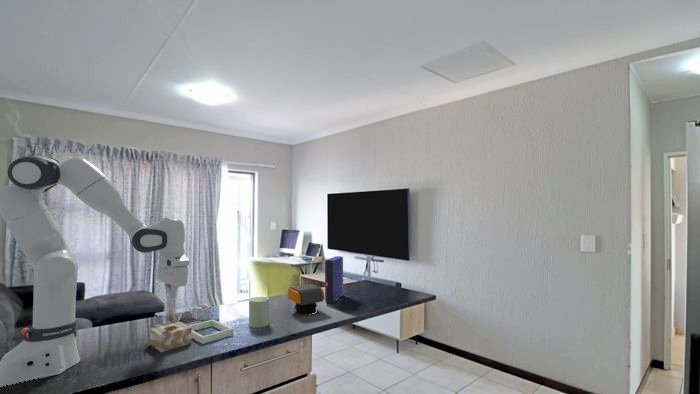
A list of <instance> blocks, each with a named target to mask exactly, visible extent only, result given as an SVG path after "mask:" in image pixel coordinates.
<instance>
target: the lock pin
mask: <svg viewBox="0 0 700 394" xmlns="http://www.w3.org/2000/svg"><path fill="white" fill-rule="evenodd" d="M171 290H172V288H171V285H170V284H167V294H166V301H165V305H166V306H165V307H166V308H165V321H166V322H171V321H174V320H175V314H176V303H177V301H176V300H177V295H176V296H174V297H172V296H170V292H171Z"/></svg>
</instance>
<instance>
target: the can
mask: <svg viewBox="0 0 700 394" xmlns="http://www.w3.org/2000/svg"><path fill="white" fill-rule="evenodd" d="M269 325H270V297H268V296H255V297H251V298H250V299H248V327H250V328H255V329H258V328H259V329H261V328H265V327H266V326H269Z"/></svg>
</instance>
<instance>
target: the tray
mask: <svg viewBox="0 0 700 394" xmlns="http://www.w3.org/2000/svg"><path fill="white" fill-rule="evenodd" d="M188 326H190V327H191V328H192V339H193V340H195V341H196V342H198V343H200V344H202V345H203V344H207V343H210V342H213V341H217V340H220V339H224V338H226V337H227V338H228V337H230V336H231V337H234V327H231V326H229V325H227V324H224V323H222V322H219V321H215V320H209V321H205V322H201V321H200V322H198V323H194V324H190V325H188ZM210 327H211V328H214V329H216V330H219V331H217V332H213V333H211V334H207V335H202V334H200V333H198V332H197V331H199V330H203V329H206V328H210Z"/></svg>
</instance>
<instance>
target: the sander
mask: <svg viewBox="0 0 700 394" xmlns="http://www.w3.org/2000/svg"><path fill="white" fill-rule="evenodd" d="M287 299H288V300H290V301H292V302H294V303H295V305H294V308H295V310H294V314H295V315H296V314H299V315H298V316H310V315H309V314H312V313H315V312H316V309H317V307H318V305H317V303H323V302H324V300H325V290H324V289H323V288H322V287H320V286H318V285H315V284H313V283H308V284H303V285H301V284H300V285H296V286H294V285H292V286H290V287H289V288H288V290H287ZM315 314H316V313H315Z"/></svg>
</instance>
